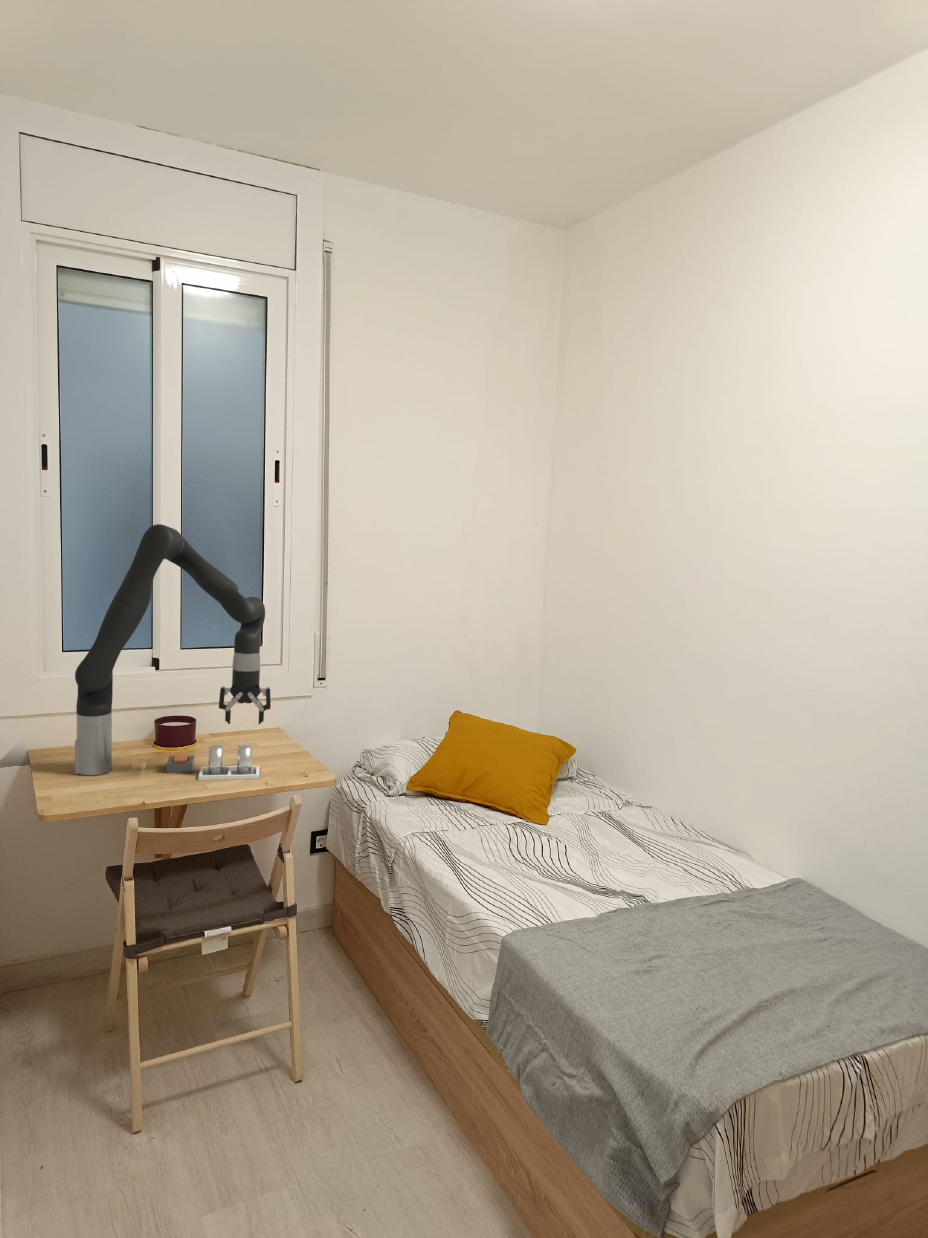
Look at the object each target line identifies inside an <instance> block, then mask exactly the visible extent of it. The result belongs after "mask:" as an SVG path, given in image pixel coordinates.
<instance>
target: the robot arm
mask: <svg viewBox="0 0 928 1238" xmlns="http://www.w3.org/2000/svg"><path fill="white" fill-rule="evenodd" d="M164 560H167V561H168V562H170V563H173V564H174V565H176V566H178V567H179V568H181V569H182V570H183V571H184V572H186V573H187V574H188V576H190V577H191V578H192V580H194V582H195V583H196V584H197V585H198V586H199V587H200V588H201V589H202V590H203V591H204V592H205V593H206V594H208V595H209V596H210V597H211V598H213V600H215V601H216V602H218V603H219V604H220V605H221V607H222V608H223V610H224V611H225V612H226V613H227V615H229V616H230V618H232V620H234V621H236V622H237V623H239V624H240V629H239V630H238V631H236V633H235V634H234V646H233V657H232V674H231V675H232V676H231V677H232V678H231V687H225V686H221V687H220V689H219V690H220V691H219V699H218V709H220V710H223V711H224V712H225V713H224V714H225V715H224V721H225V723H226V722H227V724H228V725H230V724H231V720H232V719H231V715H232V714H231V713H232V710H231V709H232V708H233V707H234V705H236V703H238V704H244V703H245V704H251V703H252V704H254V706H255V707H256V708H257V709H258V725H262V723H264V719H265V718H264V717H265V711H267V710H271V687H269V686H268V687H266V688H261V686H260V678H261V676H260V673H261V655H260V653H261V652H260V651H261V636H262V631H263V628H264V623H265V618H266V607H265V604H264V602H263V600H262V599H260V598H259V597H257V596H249V597H245V596H243V595H242V594H241V593H240V592H239V587H238V585H237V583H235V582H234V581H233V580H232V579H230V577H228V576H227V575H225V574H224V573H223V572H222V571H220V570H219V569H218V568H216V566H214V565H213V564H211V563H210V562H208V560H206V559H205V558H204V557H202V556H201V554H199V553H198V552H197V551H196V550H195V549H194V548H193V547H192V545H190V543H189V542H188V541H187V540H186V539H185V537H184V536H183V535H182V534H181V533H180V532H179V531H178V530H177V529H176V528H173V527H170V526H167V525H165V524H160V523H159V524H153V525H151V526H149V528H147V529H146V531H145V532H144V533H143V535H142V537H141V540H140V542H139V545H138V547H137V550H136V553H135V555H134V558H133V560H132V563H131V564H130V567H129V569H128V570H127V573H125V576H124V578H123V580H122V582H121V583H120V586H119V588H118V589H117V591H116V593H115V595H114V597H112V600H111V602H110V604H109V606H108V609H107V610H106V613H105V615H104V617H103V620H102V622H101V625H100V626H99V627H100V628H99V630H98V633H97V636H96V638H95V640H94V642H93V644H92V645H91V647H90V649H89V651H88V653H87V654H86V655H85V657H84V658H83V659H82V660H81V661H80V663H79V664H78V665H77V667H76V670H75V672H74V681H75V683H76V684H77V698H76V740H75V741H74V774H76V775H83V776H100V775H104V774H107V773H110V772H111V771H112V770H113V766H112V765H113V762H112V760H113V759H112V758H113V755H112V754H113V753H112V752H113V745H112V743H113V739H112V738H113V736H112V735H113V733H112V732H113V731H112V730H113V729H112V728H113V727H112V726H113V725H112V724H113V720H112V719H113V718H112V717H113V715H112V714H113V713H112V712H113V711H112V709H113V707H112V706H113V696H114V695H113V689H114V688H113V686H114V685H113V684H114V683H113V681H114V680H113V678H114V677H113V675H114V674H113V670H114V668H115V666H116V662H117V661H118V658H119V657H120V654H121V652H122V650H123V648H124V647H125V646H126V644H127V643H128V642H129V640H130V639H131V637H132V636H133V634H134V633H135V631H136V629H137V628H138V626H139V625H140V623H141V621H142V619H143V617H144V615H145V614H146V611H147V610H148V607H149V605H150V602H151V597H152V591H153V583H154V579H155V576H156V573H157V572H158V570H159V568H160V566H161V565H162V563H163V561H164ZM229 692H230V694H231V696H232V698H231V699H230V701H229V702H228V703H227V704H225V696H227V695H228V693H229ZM261 693H262V696H263V697H265V704H263V703H262V702H261V700H260V699H259V698H258V697H259V695H260V694H261Z"/></svg>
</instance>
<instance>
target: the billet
mask: <svg viewBox="0 0 928 1238" xmlns="http://www.w3.org/2000/svg"><path fill="white" fill-rule="evenodd" d="M236 748H237V752H236V753H237V757H236V766H237V775H247V774H251V766H252V758H253V756H252V754H253V752H252V751H253V750H252V748H253V747H252V746H251V745H249V744H242V745H238V746H237V747H236Z"/></svg>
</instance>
